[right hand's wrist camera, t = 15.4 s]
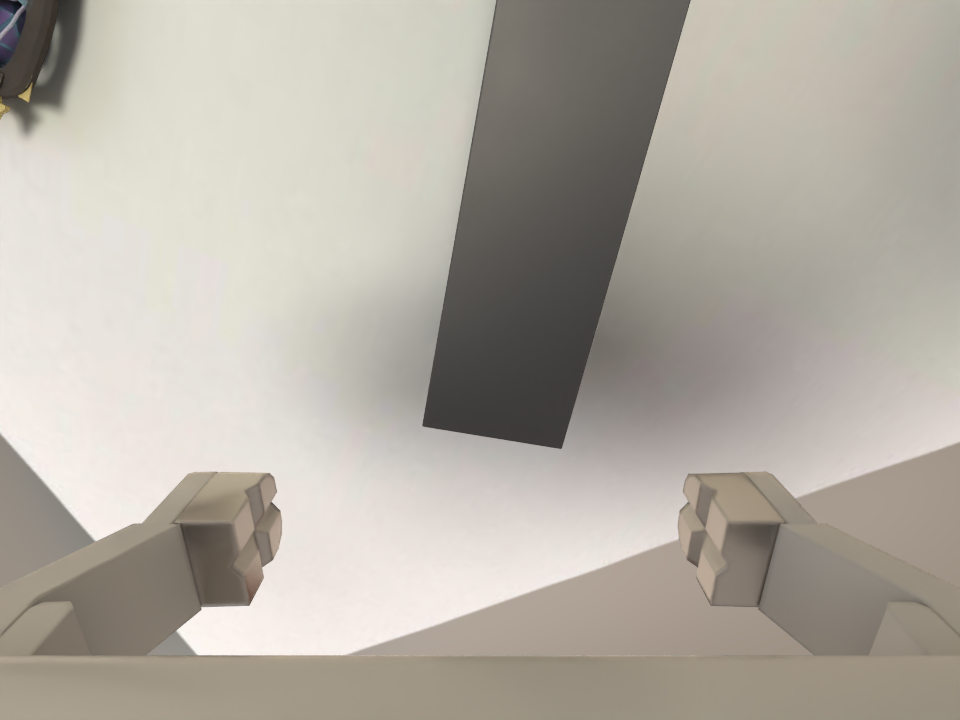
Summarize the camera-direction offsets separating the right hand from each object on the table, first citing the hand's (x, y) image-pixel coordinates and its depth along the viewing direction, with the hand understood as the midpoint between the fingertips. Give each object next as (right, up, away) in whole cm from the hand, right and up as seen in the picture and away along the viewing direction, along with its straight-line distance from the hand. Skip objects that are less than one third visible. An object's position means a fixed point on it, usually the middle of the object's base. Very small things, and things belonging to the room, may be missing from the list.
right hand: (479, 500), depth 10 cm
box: (+3, +16, +18) cm, 24 cm away
